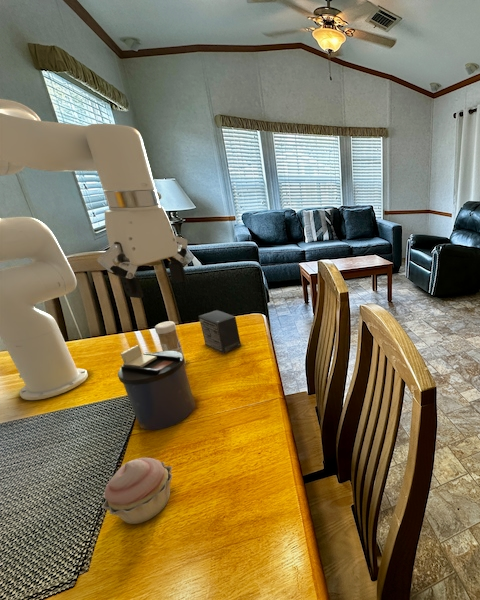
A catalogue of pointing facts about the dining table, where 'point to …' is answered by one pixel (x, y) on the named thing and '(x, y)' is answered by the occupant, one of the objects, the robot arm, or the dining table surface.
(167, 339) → the sprinkles bottle
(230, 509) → the dining table surface
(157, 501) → the cupcake
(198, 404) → the dining table surface
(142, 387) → the dark blue canister
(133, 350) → the slider
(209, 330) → the small box
